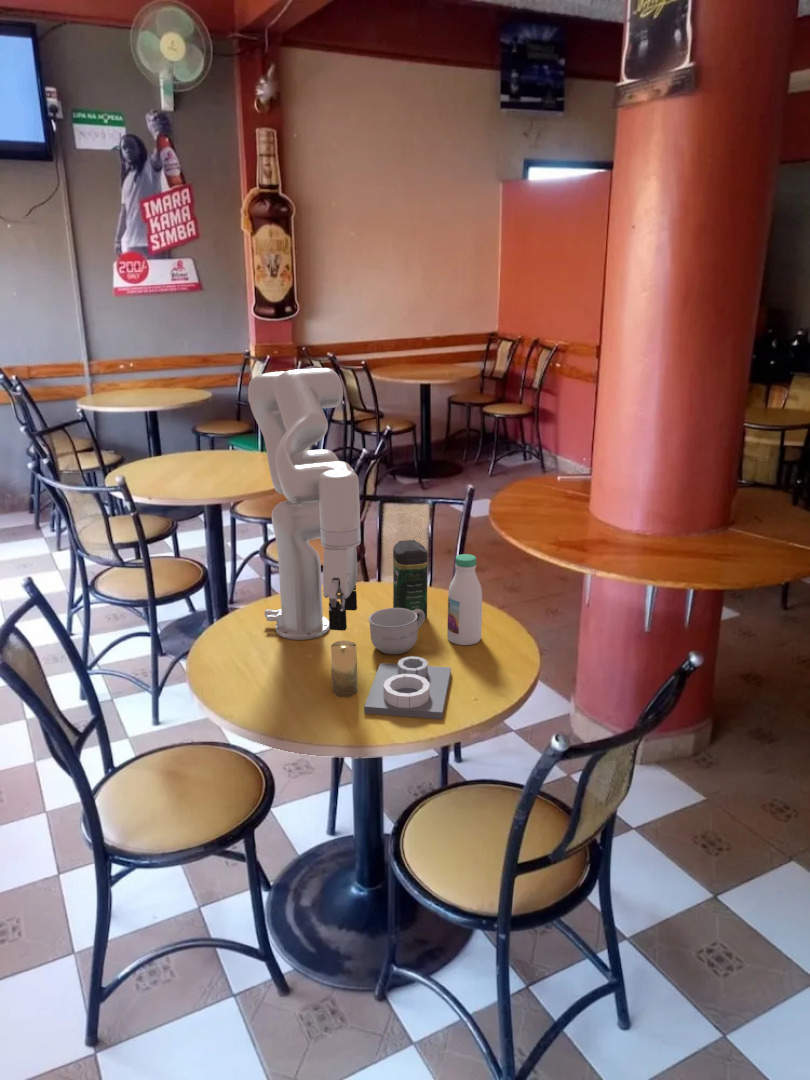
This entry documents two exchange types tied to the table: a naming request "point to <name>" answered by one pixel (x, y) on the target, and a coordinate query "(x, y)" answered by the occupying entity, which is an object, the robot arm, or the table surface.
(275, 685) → the table surface
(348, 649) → the gold cylindrical peg
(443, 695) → the collar board
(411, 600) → the coffee jar
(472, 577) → the milk bottle
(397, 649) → the teacup
